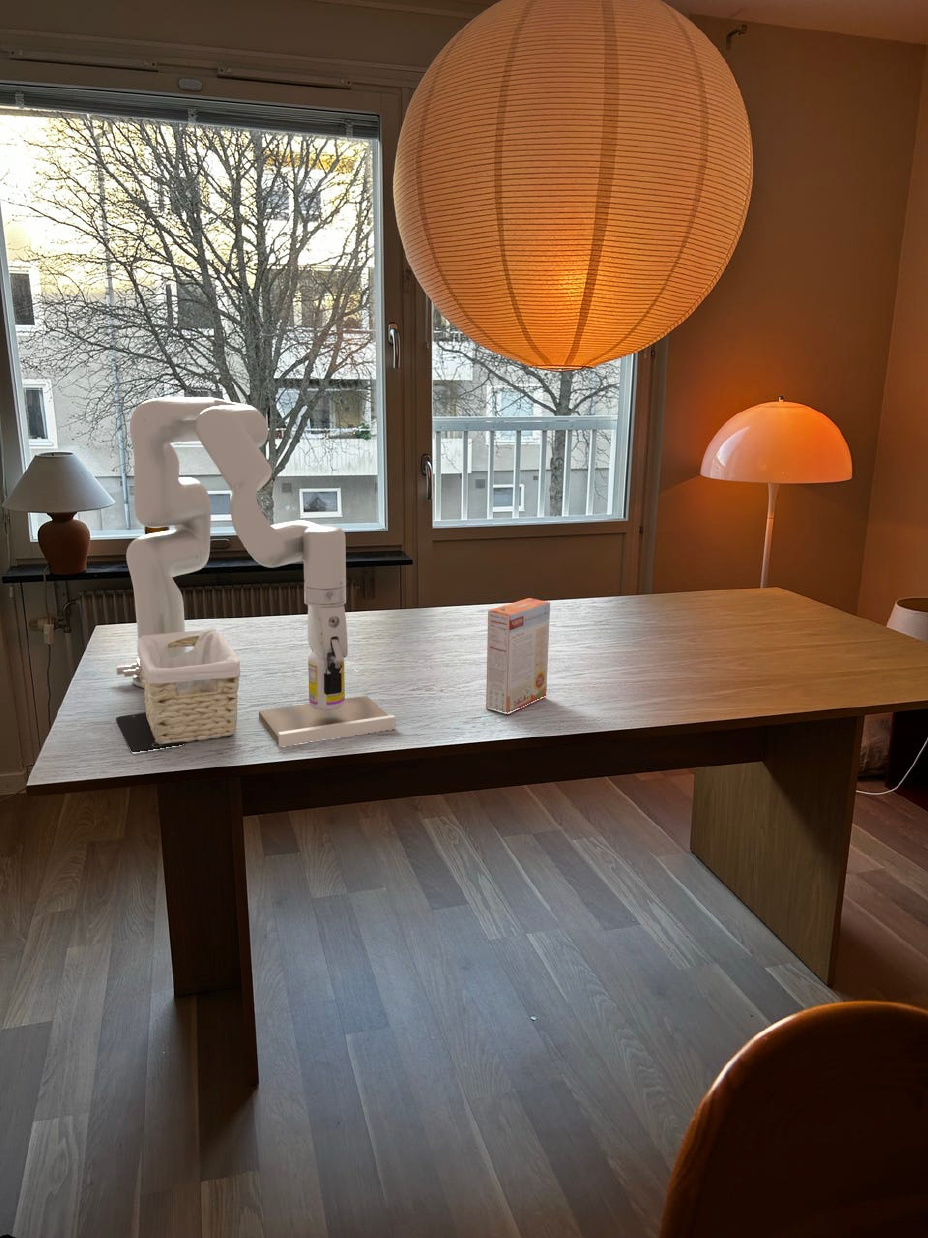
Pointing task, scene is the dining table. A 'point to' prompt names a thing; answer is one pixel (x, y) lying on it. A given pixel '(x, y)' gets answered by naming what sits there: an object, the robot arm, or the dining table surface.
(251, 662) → the dining table surface
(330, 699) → the supplement bottle
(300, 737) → the rail
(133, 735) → the cell phone
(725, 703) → the dining table surface
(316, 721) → the shelf board
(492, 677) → the cracker box
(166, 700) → the storage basket
